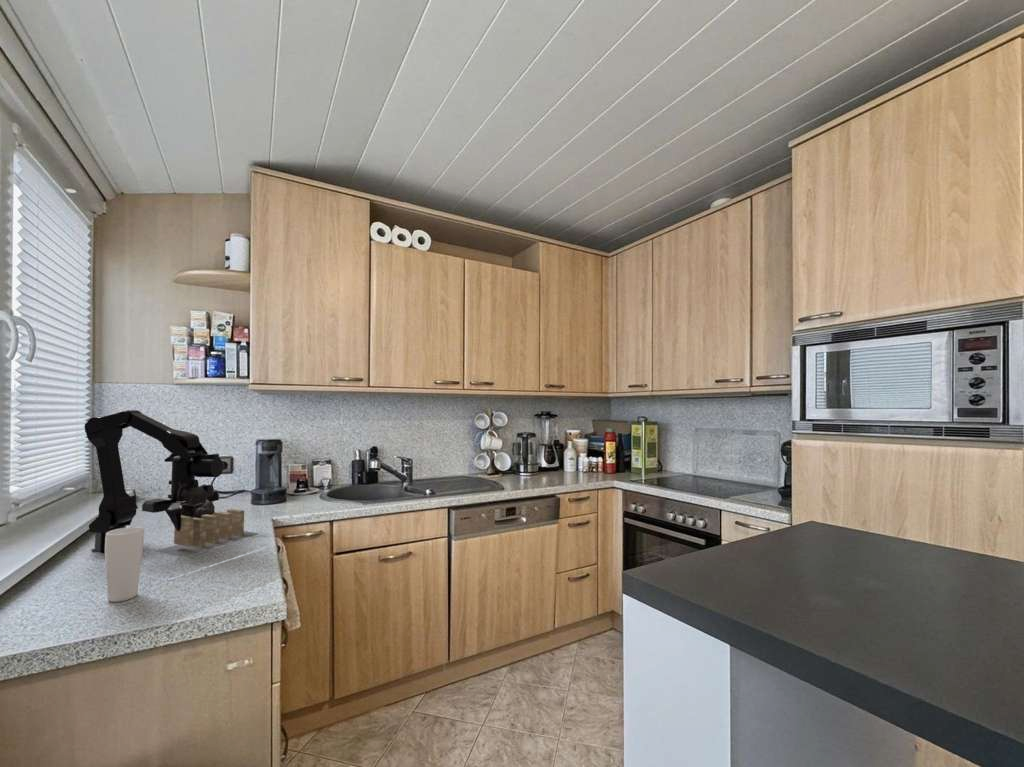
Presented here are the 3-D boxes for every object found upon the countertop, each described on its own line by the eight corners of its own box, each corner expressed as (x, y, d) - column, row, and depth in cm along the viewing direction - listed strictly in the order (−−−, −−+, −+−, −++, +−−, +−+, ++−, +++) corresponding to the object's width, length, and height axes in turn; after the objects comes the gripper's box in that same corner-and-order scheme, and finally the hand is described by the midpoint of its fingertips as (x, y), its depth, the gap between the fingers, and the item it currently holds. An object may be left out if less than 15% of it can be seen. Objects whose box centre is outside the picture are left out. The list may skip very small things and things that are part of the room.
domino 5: (239, 536, 152) (239, 511, 152) (226, 534, 154) (227, 509, 154) (243, 535, 153) (244, 510, 153) (231, 532, 156) (231, 508, 156)
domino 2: (199, 547, 140) (200, 520, 140) (186, 545, 143) (187, 518, 143) (205, 546, 142) (205, 519, 142) (192, 543, 144) (193, 517, 144)
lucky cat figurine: (161, 524, 167) (160, 487, 172) (181, 529, 178) (180, 494, 183) (205, 510, 169) (203, 474, 175) (223, 516, 180) (220, 482, 186)
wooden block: (226, 539, 148) (227, 514, 148) (214, 537, 150) (214, 512, 151) (231, 538, 149) (232, 513, 150) (218, 536, 152) (219, 511, 152)
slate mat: (180, 557, 132) (180, 556, 132) (154, 552, 137) (154, 550, 137) (259, 534, 155) (259, 533, 155) (234, 530, 160) (234, 529, 160)
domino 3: (213, 543, 144) (214, 517, 144) (200, 541, 146) (201, 515, 147) (218, 542, 145) (219, 516, 146) (205, 539, 148) (206, 514, 148)
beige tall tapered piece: (109, 607, 101) (112, 536, 101) (97, 599, 105) (100, 531, 105) (147, 596, 107) (149, 529, 107) (134, 589, 110) (136, 525, 111)
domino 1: (187, 546, 136) (187, 518, 136) (174, 543, 138) (174, 516, 139) (192, 544, 137) (193, 517, 138) (179, 542, 140) (180, 515, 140)
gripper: (166, 484, 127) (164, 542, 127) (231, 474, 144) (230, 525, 144) (141, 480, 132) (139, 537, 131) (207, 471, 149) (206, 521, 148)
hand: (181, 530), depth 138 cm, fingers closed on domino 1, 2 cm apart
